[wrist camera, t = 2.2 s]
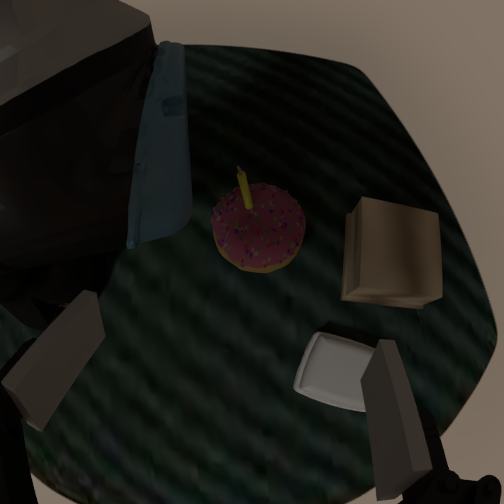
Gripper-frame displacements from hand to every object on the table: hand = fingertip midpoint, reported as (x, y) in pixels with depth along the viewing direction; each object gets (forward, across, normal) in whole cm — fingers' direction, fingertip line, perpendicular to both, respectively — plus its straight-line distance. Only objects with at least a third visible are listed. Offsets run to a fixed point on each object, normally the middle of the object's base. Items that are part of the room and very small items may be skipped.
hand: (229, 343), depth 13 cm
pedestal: (+20, +14, -4) cm, 24 cm away
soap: (+12, +10, -13) cm, 20 cm away
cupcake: (+20, 0, -4) cm, 20 cm away
